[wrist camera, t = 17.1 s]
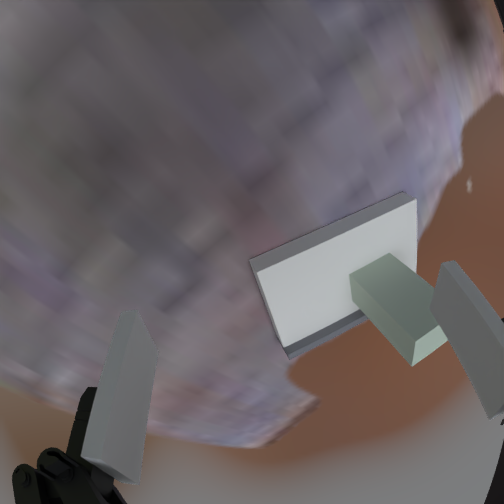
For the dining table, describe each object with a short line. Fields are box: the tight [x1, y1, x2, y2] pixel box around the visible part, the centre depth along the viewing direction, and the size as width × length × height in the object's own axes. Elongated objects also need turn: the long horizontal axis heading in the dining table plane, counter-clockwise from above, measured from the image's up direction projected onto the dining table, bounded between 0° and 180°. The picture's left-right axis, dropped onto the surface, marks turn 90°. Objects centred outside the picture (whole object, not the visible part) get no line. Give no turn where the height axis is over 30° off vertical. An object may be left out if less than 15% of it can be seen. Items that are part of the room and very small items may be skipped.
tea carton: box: [349, 253, 448, 366], centre depth 36 cm, size 5×7×14 cm
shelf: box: [249, 192, 417, 360], centre depth 42 cm, size 24×16×4 cm, turn 108°
